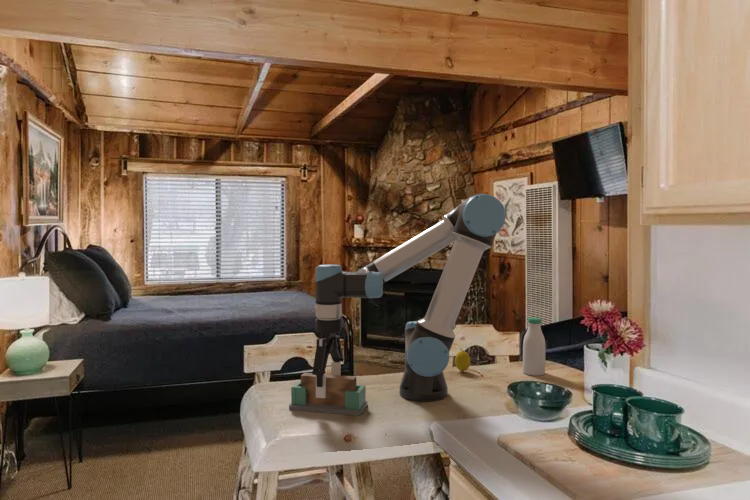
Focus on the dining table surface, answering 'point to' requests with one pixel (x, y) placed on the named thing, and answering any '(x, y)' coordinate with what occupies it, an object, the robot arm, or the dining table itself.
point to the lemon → (462, 361)
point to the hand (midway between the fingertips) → (328, 390)
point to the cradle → (353, 405)
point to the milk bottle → (534, 349)
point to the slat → (328, 388)
